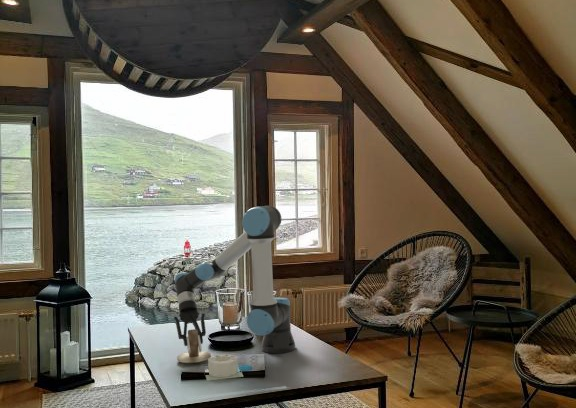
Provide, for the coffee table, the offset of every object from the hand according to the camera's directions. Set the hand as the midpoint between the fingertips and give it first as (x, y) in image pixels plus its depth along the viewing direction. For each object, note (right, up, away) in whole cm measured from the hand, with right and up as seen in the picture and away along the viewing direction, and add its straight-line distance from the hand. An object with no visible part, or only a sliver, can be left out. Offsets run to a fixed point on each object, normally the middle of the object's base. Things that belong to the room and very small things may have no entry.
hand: (195, 351), depth 237 cm
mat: (+13, -6, -13) cm, 19 cm away
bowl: (+13, -5, -13) cm, 19 cm away
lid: (-1, -4, +4) cm, 5 cm away
